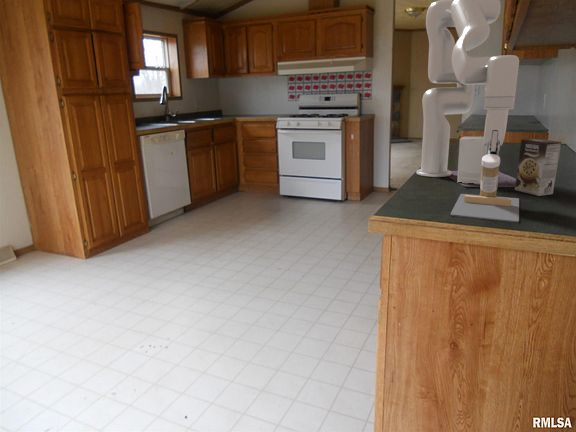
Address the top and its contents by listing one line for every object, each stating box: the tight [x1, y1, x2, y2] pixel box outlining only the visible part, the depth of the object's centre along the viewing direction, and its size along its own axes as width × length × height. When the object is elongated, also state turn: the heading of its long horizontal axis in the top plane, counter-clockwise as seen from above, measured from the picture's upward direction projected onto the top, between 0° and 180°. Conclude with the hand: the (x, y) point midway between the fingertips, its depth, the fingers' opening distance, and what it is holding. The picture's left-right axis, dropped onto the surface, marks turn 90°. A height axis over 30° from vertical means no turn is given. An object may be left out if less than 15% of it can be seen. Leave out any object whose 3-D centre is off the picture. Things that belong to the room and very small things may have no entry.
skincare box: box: [457, 135, 489, 185], centre depth 148 cm, size 8×7×16 cm
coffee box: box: [514, 138, 562, 197], centre depth 133 cm, size 9×6×16 cm
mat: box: [449, 193, 520, 223], centre depth 120 cm, size 24×16×2 cm, turn 153°
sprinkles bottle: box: [479, 153, 501, 198], centre depth 122 cm, size 5×5×13 cm
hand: (491, 170), depth 123 cm, fingers closed
